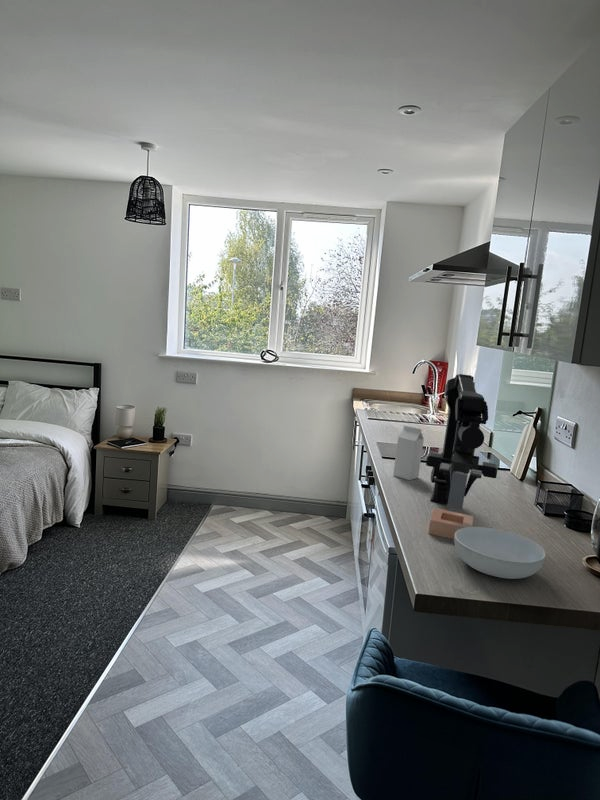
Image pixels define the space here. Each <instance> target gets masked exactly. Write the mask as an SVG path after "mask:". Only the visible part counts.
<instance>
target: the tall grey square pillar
mask: <svg viewBox="0 0 600 800" xmlns="http://www.w3.org/2000/svg"><path fill="white" fill-rule="evenodd" d="M468 475H469V473H468V474H465V473H463V472H458V471H457V472H454V471H453V473H452V479H451V486H450V492H449V498H448V504H446V505H447V506H446V507H447V508H448V509H453V510H458V511H463V506H464V500H465V499H464V498H465V497H464V494H465V489H466V485H467V482H468V477H469V476H468Z"/></svg>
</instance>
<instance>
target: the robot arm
mask: <svg viewBox="0 0 600 800" xmlns="http://www.w3.org/2000/svg"><path fill="white" fill-rule="evenodd" d="M475 385H476V382H474V376H472V375H471V374H462V373H459V374H456V375H455V377H453V378H450V379H448V380H447V381H446V384H445V386H444V396H445V402H446V404H447V407H448V414H447V420H446V427H445V434H444V438H443V439H444V440H443V447H442V452H441V453H435V452H430V453H429V454H428V455H427V456H426V463H425V466H427V467H431V468H432V470H431V473H430V482H431V483H432V484H434V485H433V493H432V495H431V497H430V502H433V503H438V504H439V503H440V504H443V505H448V498H449V492H450V486H451V479H452V473H453V471H454V472H457V471H458V472H463V473H465V474H468V475H469V476H468V478H467V482H466V488H465V494H464V498H466V497H467V495H468V492H469V491H470V489H471V487H472V486H473V484H474V483H475V481H476V480H477V479H482V478H483V477H486V478H492V479H497V474H498V464H496V463H492V462H486V461H482V464H479V463H480V456H478V455H475V451H476V449H478V448H479V447H481V446H482V445H483V444H484V441H485V435H484V432H483V431H482V429H481V428H480V426H481V425H486V424H487V421H488V420H489V405H488V404H487V401H485V397H484V396H483V395H482V394H480V393H478V392H477V391H476V387H475ZM482 476H483V477H482Z"/></svg>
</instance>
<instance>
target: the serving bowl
mask: <svg viewBox="0 0 600 800" xmlns="http://www.w3.org/2000/svg"><path fill="white" fill-rule="evenodd" d="M453 541H454V542H453V543H454V546H455V550H456V552H457V554H458V556H459V557H460V558H461V559H462V561H463V562H464V563H466V565H468V566H469V567H471V568H473V569H474V570H476V571H478V572H480V573H482V574H485V575H488V576H492V577H494V578H495V577H497V578H499V579H500V578H502V579H511V580H515V579H524V578H528V577H531V576H532V575H534V574H535V573H537V572H538V571H539V570H540V569H541V568H542V566H543V564H544V563H545V559H546V555H547V553H546V551H545V549H544V548H543V547H542V546H541V545H540V544H538V543H537V542H535V541H534V540H532V539H530V538H527V537H525V536H523V535H521V534H518V533H515V532H511V531H508V530H503V529H499V528H493V527H486V526H485V527H484V526H472V527H467V528H462V529H459V530H457V531H456V532H455V535H454V539H453Z"/></svg>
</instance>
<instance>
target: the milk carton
mask: <svg viewBox="0 0 600 800" xmlns="http://www.w3.org/2000/svg"><path fill="white" fill-rule="evenodd" d="M424 439H425V438H424V436H423V433H422V429H421V428H416V427H412V426H409V425H403V428H402V430H401V431H400V433H399V434H398V437H397V444H396V449H395V450H396V451H395V459H394V465H393V474H392V475H393V477H397V478H399V479H400V478H401V479H404V480H408V481H412V480H414V479H416V478H419V475H420V467H421V461H422V453H423V446H424V441H425V440H424Z"/></svg>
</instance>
